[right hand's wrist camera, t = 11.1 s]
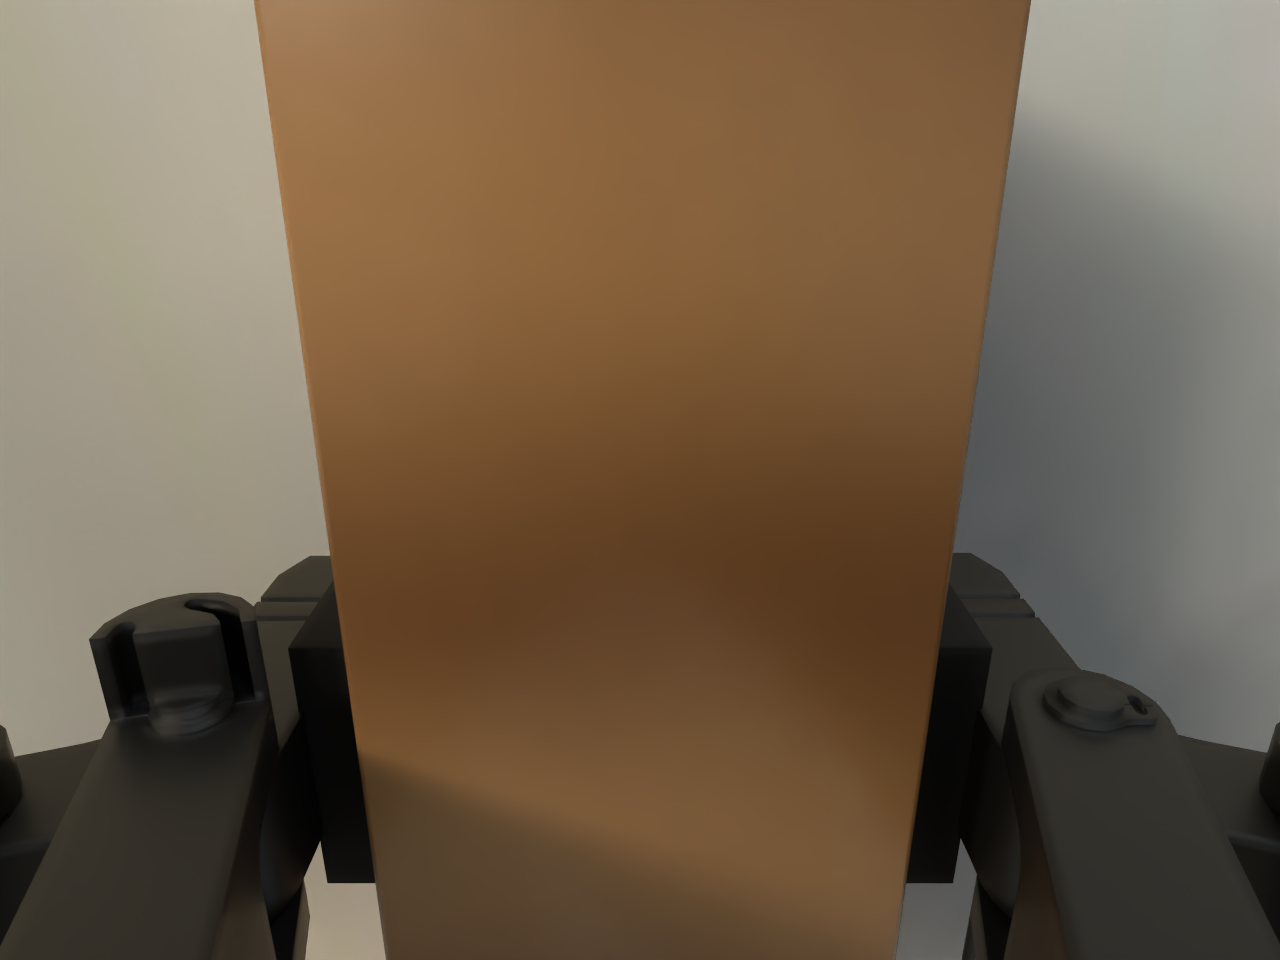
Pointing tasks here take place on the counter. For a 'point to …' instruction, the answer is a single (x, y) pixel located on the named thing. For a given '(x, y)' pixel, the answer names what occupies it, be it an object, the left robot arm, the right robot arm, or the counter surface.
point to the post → (641, 446)
